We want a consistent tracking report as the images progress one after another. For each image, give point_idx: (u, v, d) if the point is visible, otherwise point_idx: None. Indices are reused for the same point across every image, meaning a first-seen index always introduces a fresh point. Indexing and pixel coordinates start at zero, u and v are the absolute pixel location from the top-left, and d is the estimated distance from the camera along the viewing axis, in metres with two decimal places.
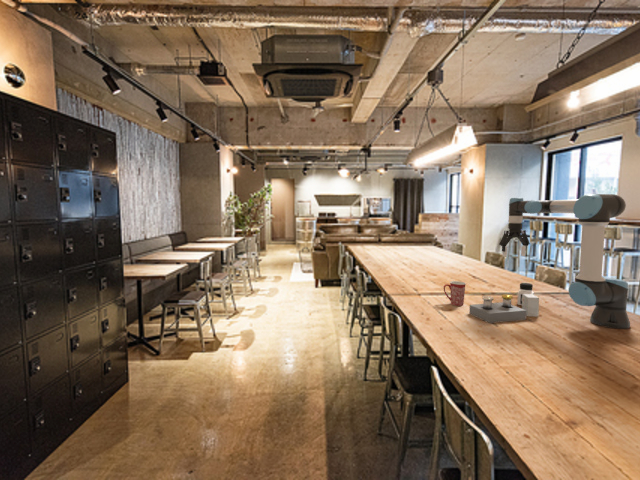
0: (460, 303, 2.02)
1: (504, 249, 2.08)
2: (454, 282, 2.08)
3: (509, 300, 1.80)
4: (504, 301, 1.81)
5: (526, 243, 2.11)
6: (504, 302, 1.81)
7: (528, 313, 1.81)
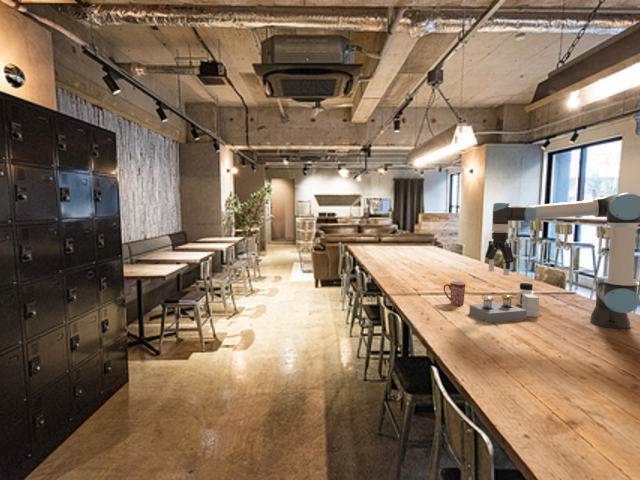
0: (460, 303, 2.02)
1: (489, 262, 1.85)
2: (454, 282, 2.08)
3: (509, 300, 1.80)
4: (504, 301, 1.81)
5: (506, 260, 1.72)
6: (504, 302, 1.81)
7: (528, 313, 1.81)
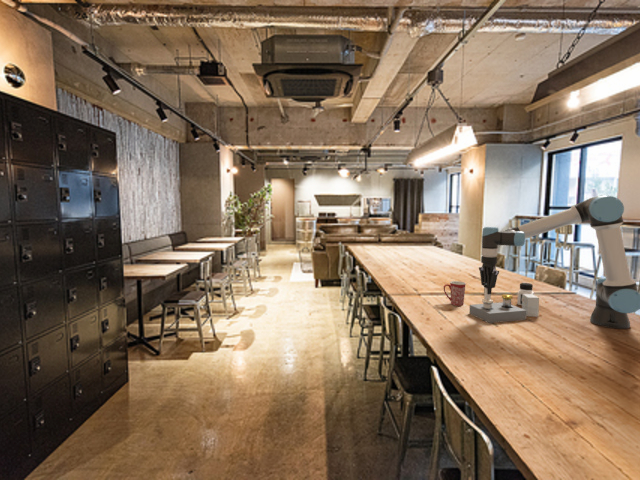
0: (460, 303, 2.02)
1: (484, 290, 1.80)
2: (454, 282, 2.08)
3: (509, 300, 1.80)
4: (504, 301, 1.81)
5: (488, 286, 1.77)
6: (504, 302, 1.81)
7: (528, 313, 1.81)
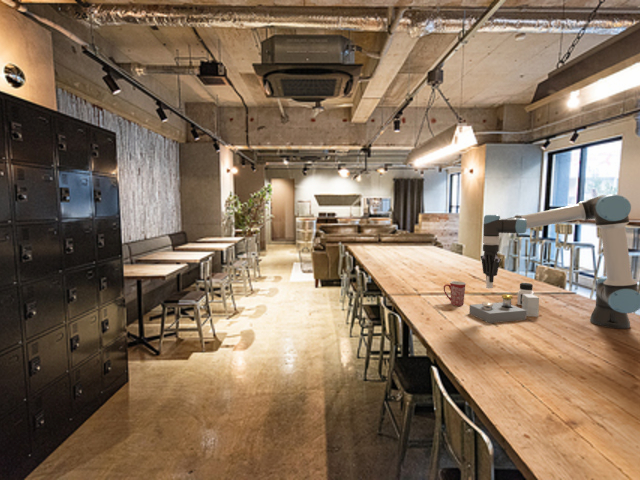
0: (460, 303, 2.02)
1: (486, 278, 1.80)
2: (454, 282, 2.08)
3: (509, 300, 1.80)
4: (504, 301, 1.81)
5: (490, 274, 1.76)
6: (504, 302, 1.81)
7: (528, 313, 1.81)
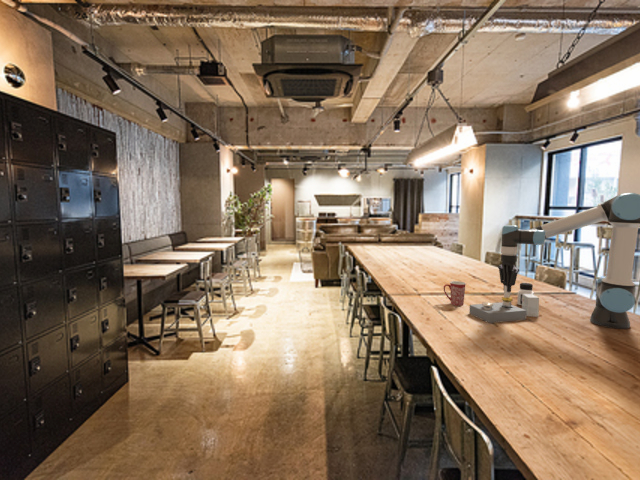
0: (460, 303, 2.02)
1: (504, 288, 1.83)
2: (454, 282, 2.08)
3: (509, 302, 1.80)
4: (504, 303, 1.81)
5: (508, 284, 1.79)
6: (504, 304, 1.81)
7: (528, 313, 1.81)
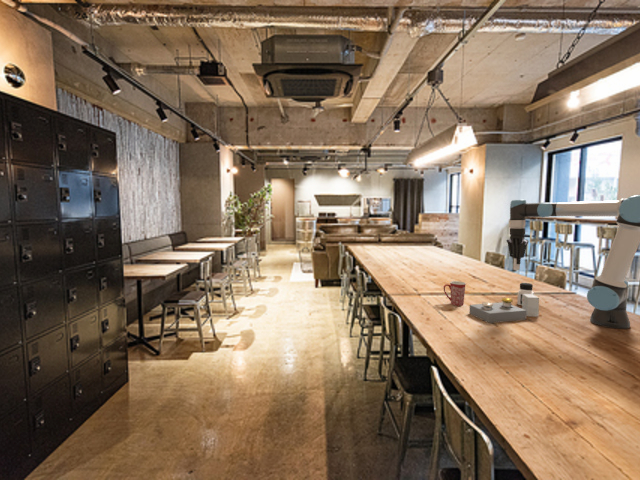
0: (460, 303, 2.02)
1: (513, 261, 1.89)
2: (454, 282, 2.08)
3: (509, 303, 1.80)
4: (504, 304, 1.81)
5: (517, 256, 1.85)
6: (504, 305, 1.82)
7: (528, 313, 1.81)
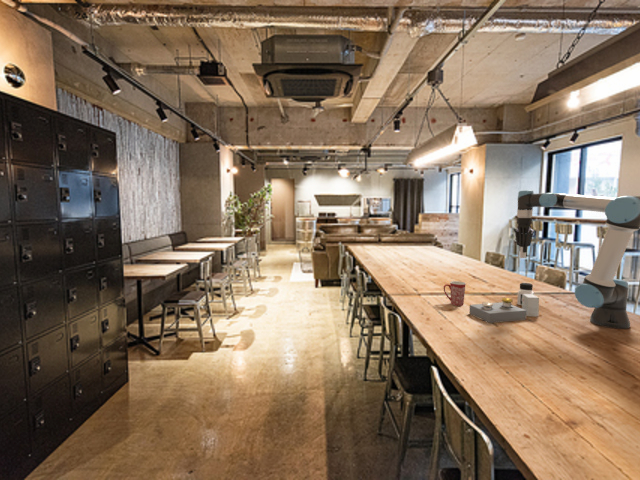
0: (460, 303, 2.02)
1: (520, 249, 1.96)
2: (454, 282, 2.08)
3: (509, 303, 1.80)
4: (504, 304, 1.81)
5: (524, 244, 1.93)
6: (504, 305, 1.82)
7: (528, 313, 1.81)
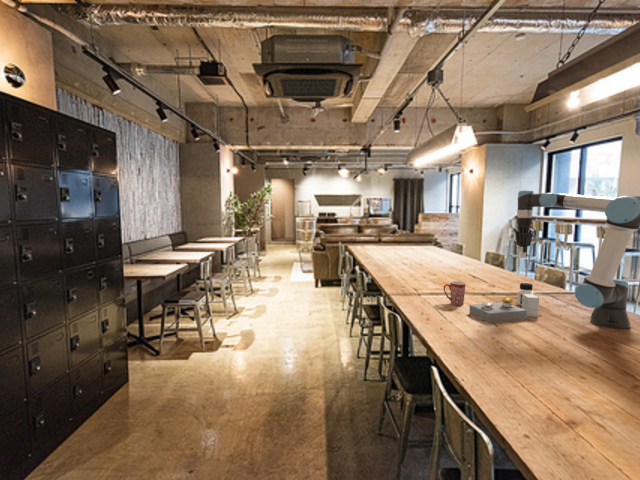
0: (460, 303, 2.02)
1: (520, 249, 1.96)
2: (454, 282, 2.08)
3: (509, 303, 1.80)
4: (504, 304, 1.81)
5: (524, 244, 1.93)
6: (504, 305, 1.82)
7: (528, 313, 1.81)
